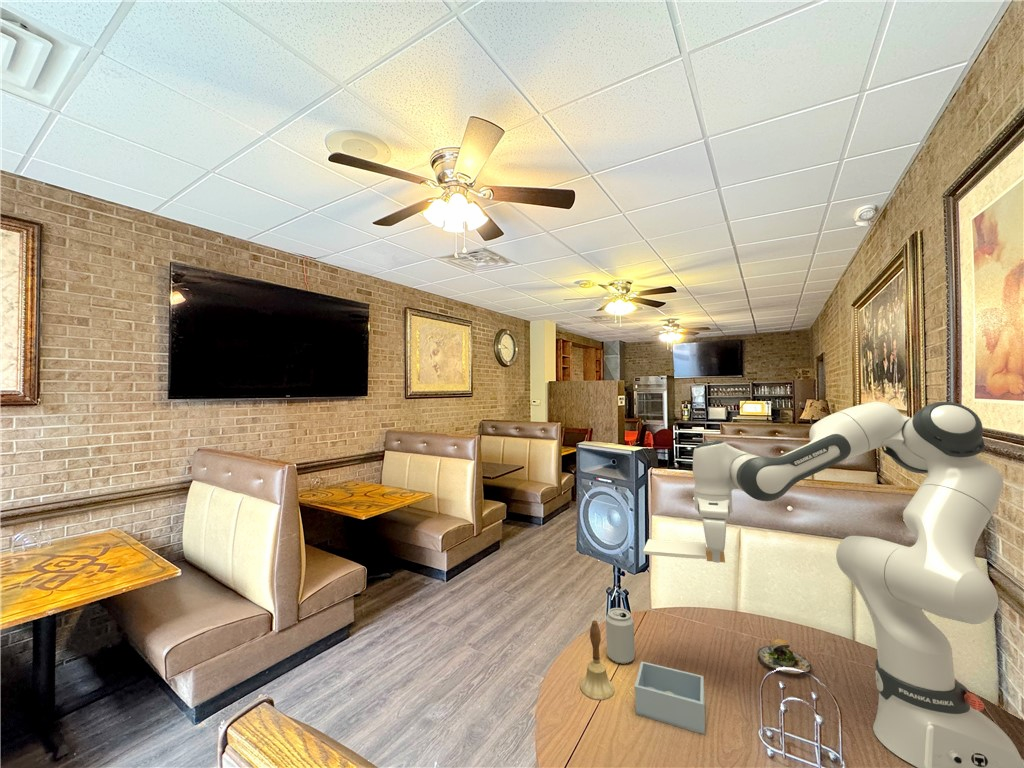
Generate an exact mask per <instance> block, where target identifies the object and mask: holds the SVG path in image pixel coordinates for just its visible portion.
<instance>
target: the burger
mask: <svg viewBox="0 0 1024 768" xmlns="http://www.w3.org/2000/svg"><path fill="white" fill-rule="evenodd" d="M776 633H778V632H777V630H776ZM776 636H777V637H779V635H778V634H776ZM790 647H791V645H790V644H789V642H788V641H786V640H784V639H781V638H777V639H774V640H773V641H772V643H771V644H770V645H769V646H762V647H761V648H759V649H758V651H757V661H758V663H759V664H760V665H761V666H762V667H763V668H764V669H767V667H770V668H772V669H773V670H776V668H778V667H783V666H785V667H794V668H797V669H801V670H803V671H805V673H808V672H809V671H811V670H813V667H812V664H810V662H809V661H808V660H807V659H806V658H805V656H802V655H801V654H799V653H798V652H796V651H795V652H794V651H793V650H791V649H790ZM780 672H781V673H786V674H790V675H800V673H795V672H791V671H780Z"/></svg>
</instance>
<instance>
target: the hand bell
mask: <svg viewBox="0 0 1024 768" xmlns="http://www.w3.org/2000/svg"><path fill="white" fill-rule="evenodd" d="M589 639H590V644H591V645H592V660H590V661H589V662H588V663H587V668H586V675H585V677H583V678H582V680H581V681H580V684H579V687H580V690H581V693H582V694H583V695H584V696H586V697H588V698H589V699H592V700H596V701H605V700H608V699H611V698H612V697H613V695H614V694H615V686H614V685H613V683H612V681H611V680H610V679H609V678H608V672H607V667H606V664H605V663H603V662H602V661H601V658H600V655H601V654H600V645H601V640H602V639H601V630H600V626H599V623H598V621H597V620H592V621H591V626H590V630H589Z"/></svg>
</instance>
